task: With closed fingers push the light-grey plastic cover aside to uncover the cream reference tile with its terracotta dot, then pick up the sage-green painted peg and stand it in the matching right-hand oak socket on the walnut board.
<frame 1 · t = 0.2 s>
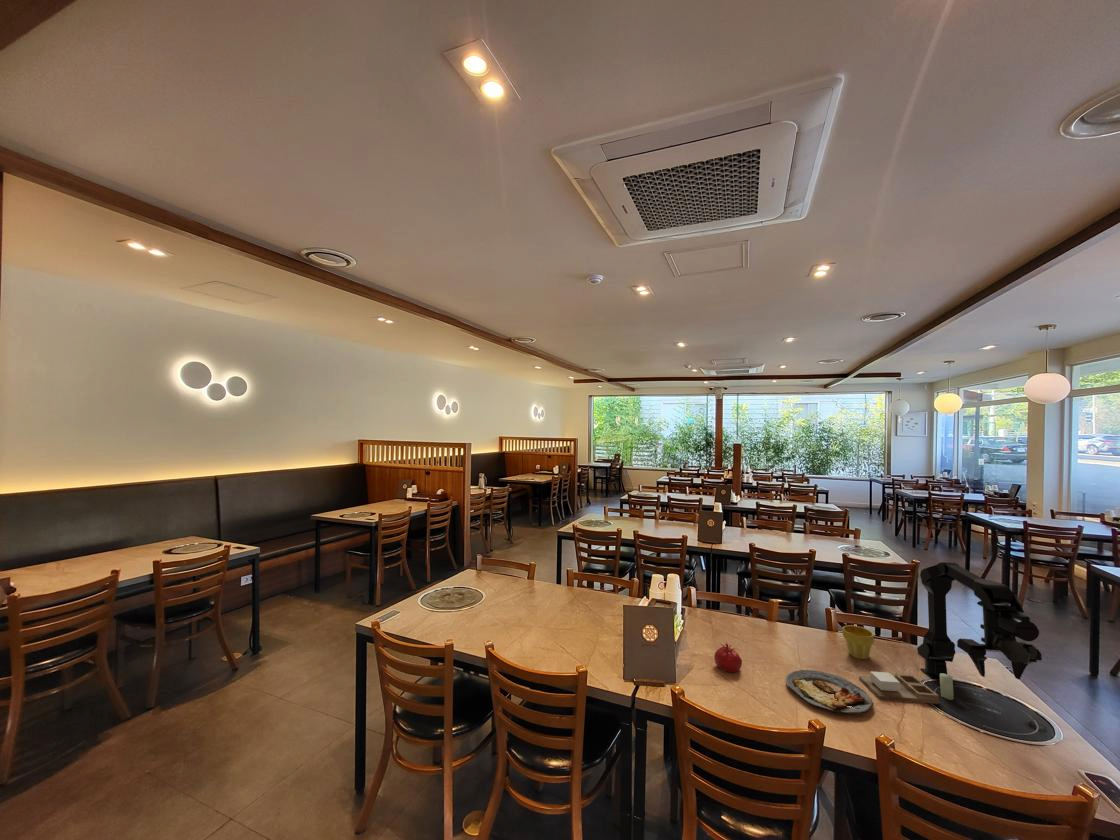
hand: (999, 677, 127), 14 cm above the table, fingers open, 9 cm apart
food plate: (827, 696, 143), on the table
plant pot: (859, 655, 168), on the table
board: (897, 690, 144), on the table
pomegranate: (728, 668, 160), on the table
cover: (885, 681, 145), point 3 cm above the table, slide at 0.0 cm
peg: (947, 697, 141), on the table
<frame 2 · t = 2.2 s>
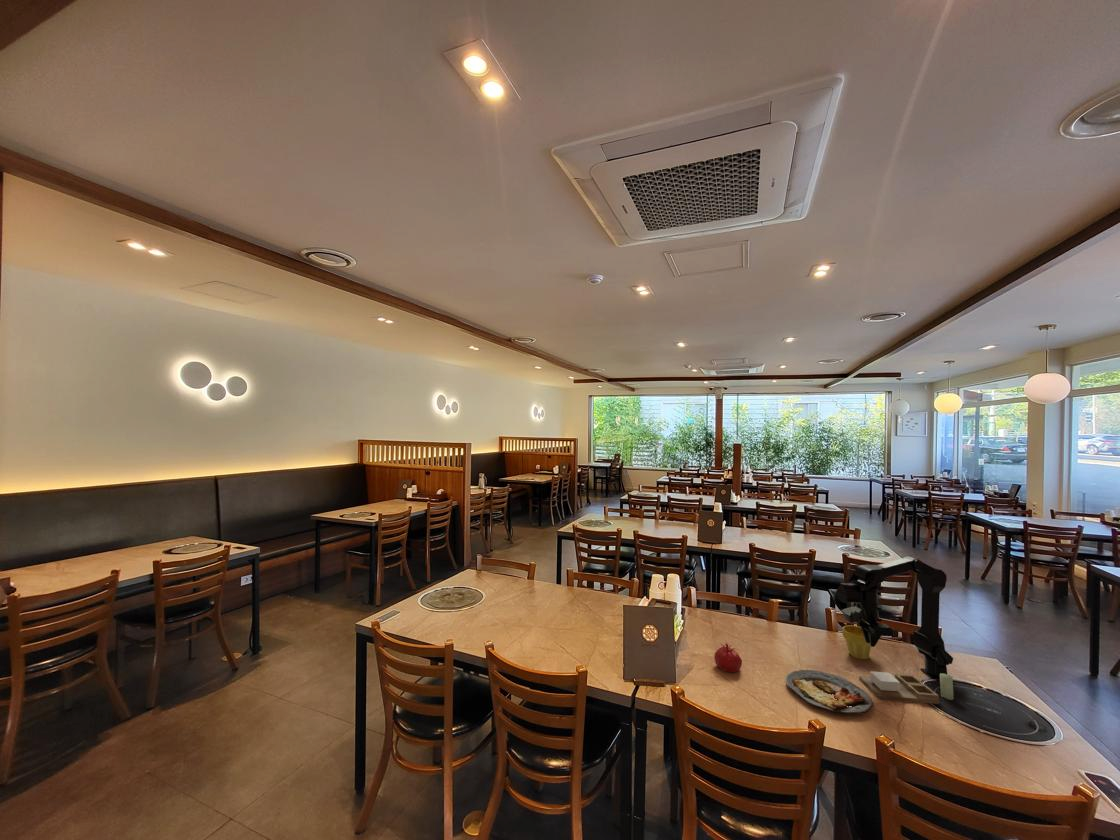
hand: (870, 644, 153), 12 cm above the table, fingers open, 3 cm apart
nothing on the table moved.
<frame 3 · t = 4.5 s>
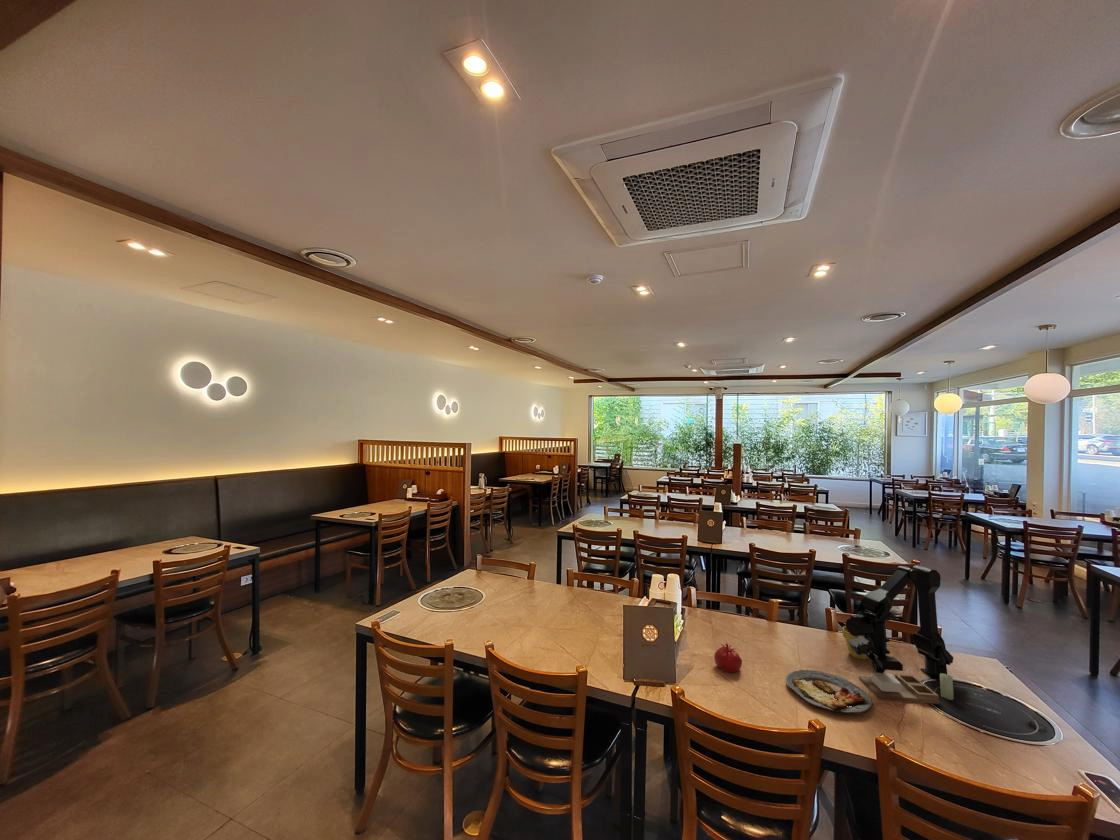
hand: (878, 677, 148), 3 cm above the table, fingers closed
cover: (886, 682, 144), point 3 cm above the table, slide at 0.6 cm, touching gripper
everything else where it was.
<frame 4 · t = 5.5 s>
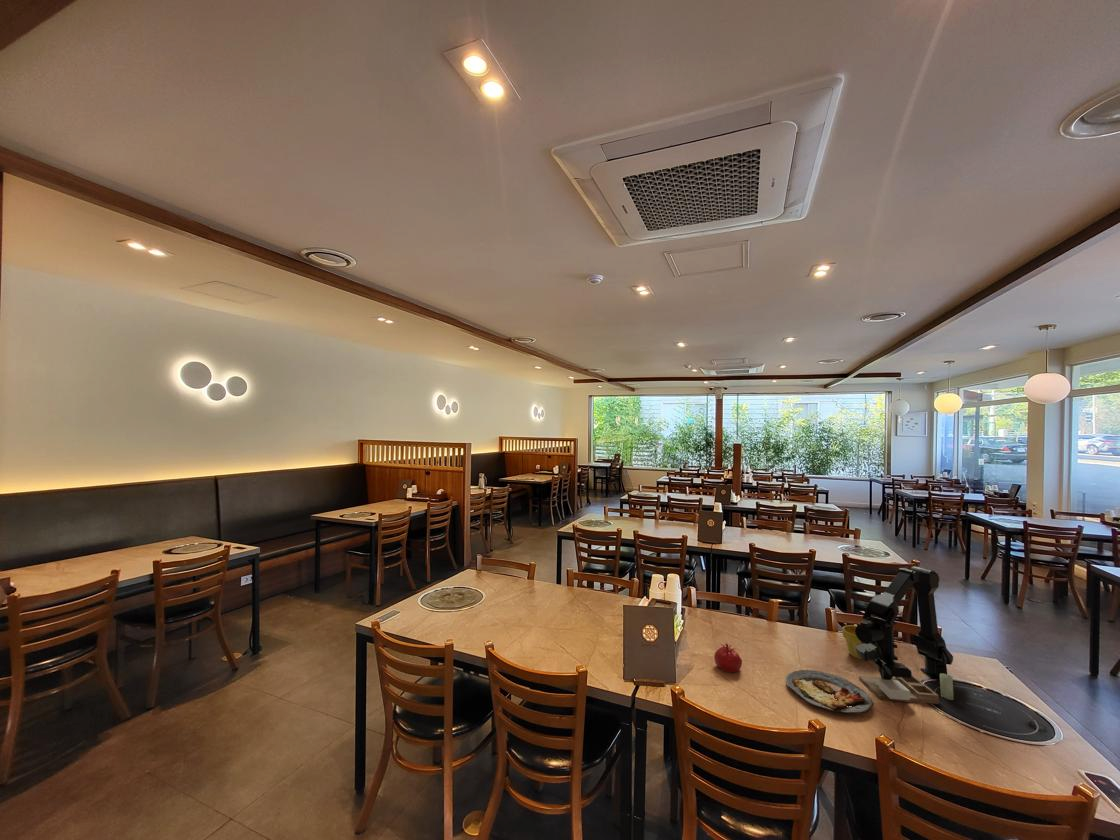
hand: (885, 684, 144), 3 cm above the table, fingers closed
cover: (894, 689, 140), point 3 cm above the table, slide at 4.9 cm, touching gripper
everything else where it was.
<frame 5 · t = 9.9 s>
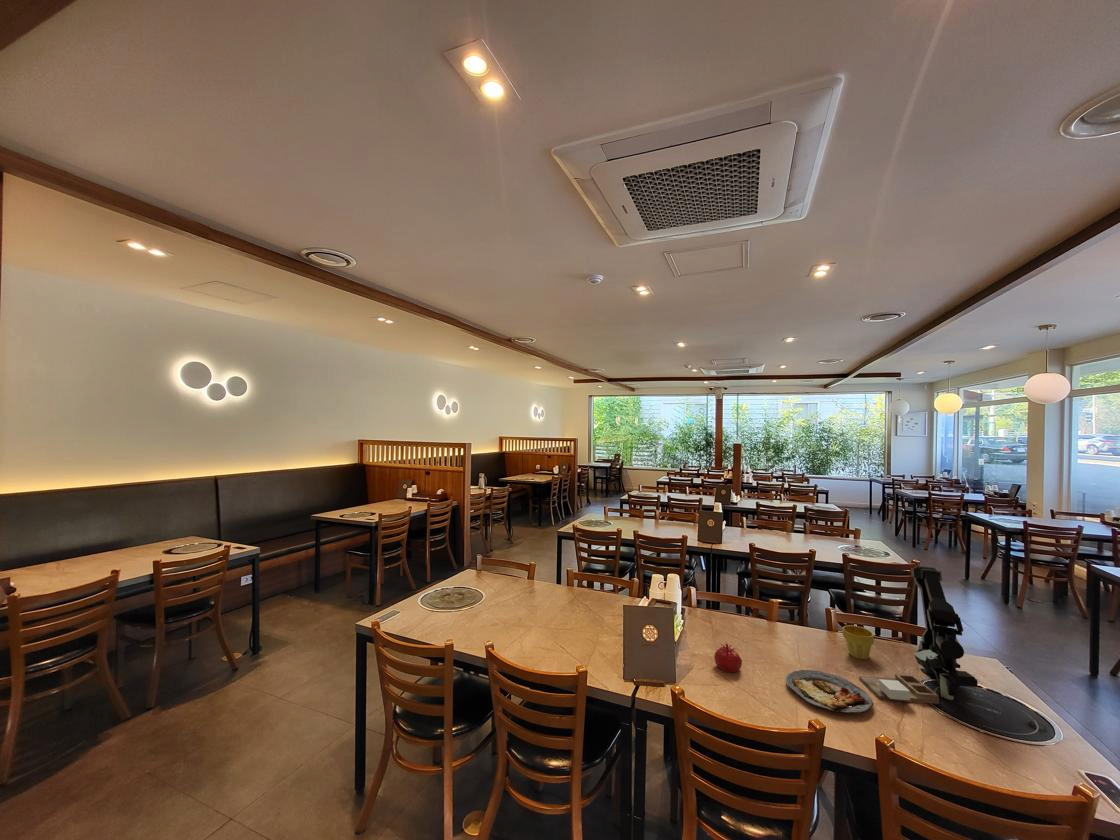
hand: (946, 692, 141), 2 cm above the table, fingers closed on peg, 3 cm apart
cover: (894, 689, 140), point 3 cm above the table, slide at 4.9 cm
peg: (947, 697, 141), on the table, touching gripper
everything else where it was.
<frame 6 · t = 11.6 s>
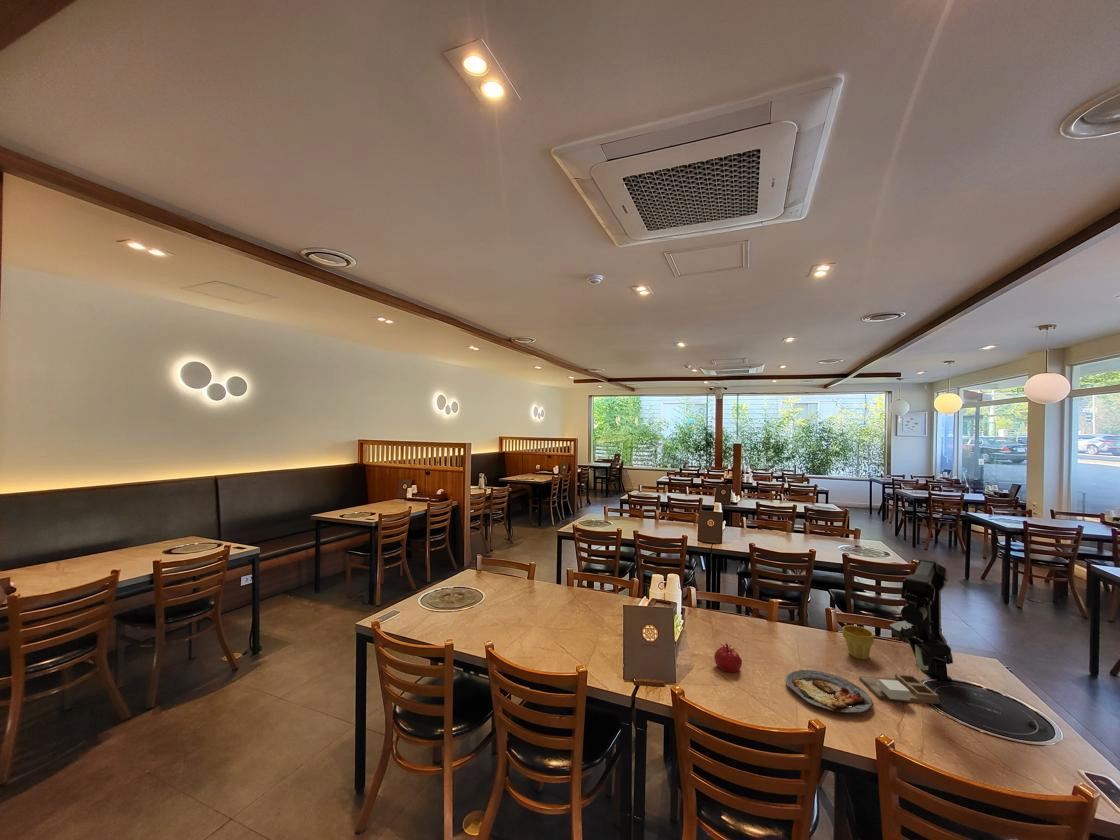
hand: (921, 662, 141), 12 cm above the table, fingers closed on peg, 3 cm apart
peg: (922, 667, 141), point 10 cm above the table, touching gripper
everything else where it was.
when the fingers open (4 cm above the table, at t = 13.3 s): peg stays where it is, resting on board.
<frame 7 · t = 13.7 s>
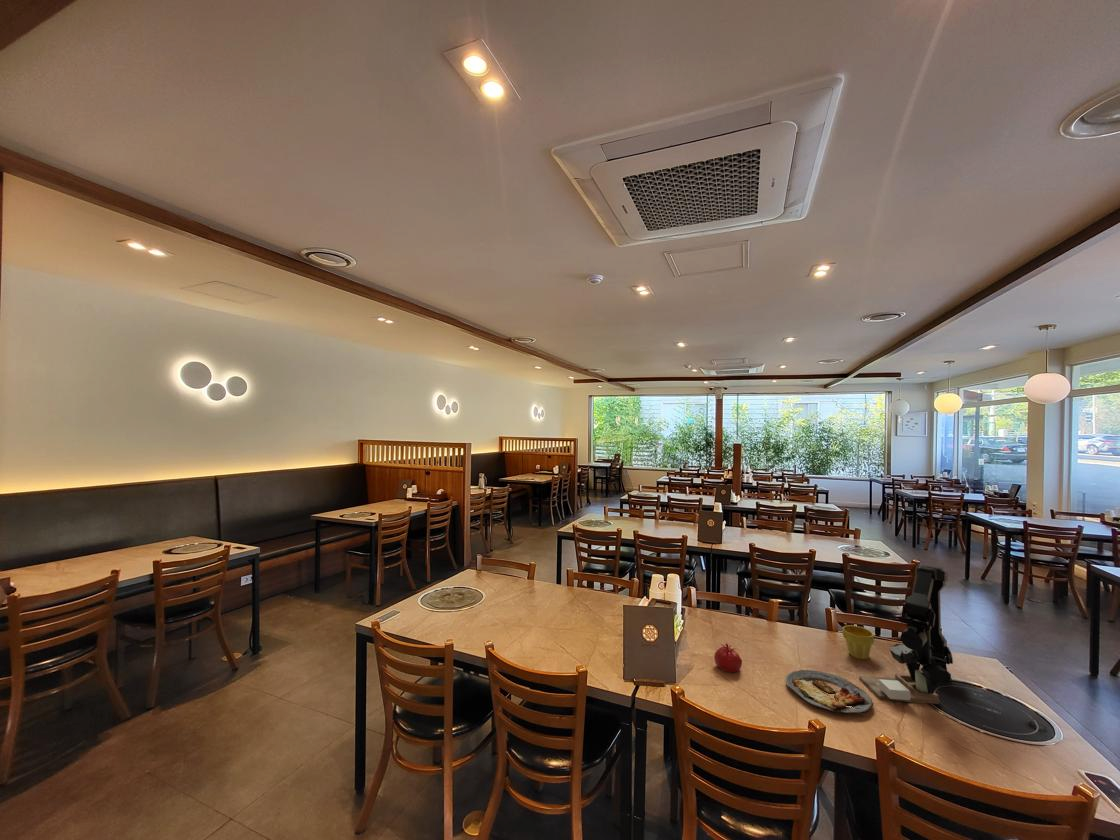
hand: (922, 687, 141), 3 cm above the table, fingers open, 7 cm apart
peg: (922, 693, 141), point 1 cm above the table, touching board
everything else where it was.
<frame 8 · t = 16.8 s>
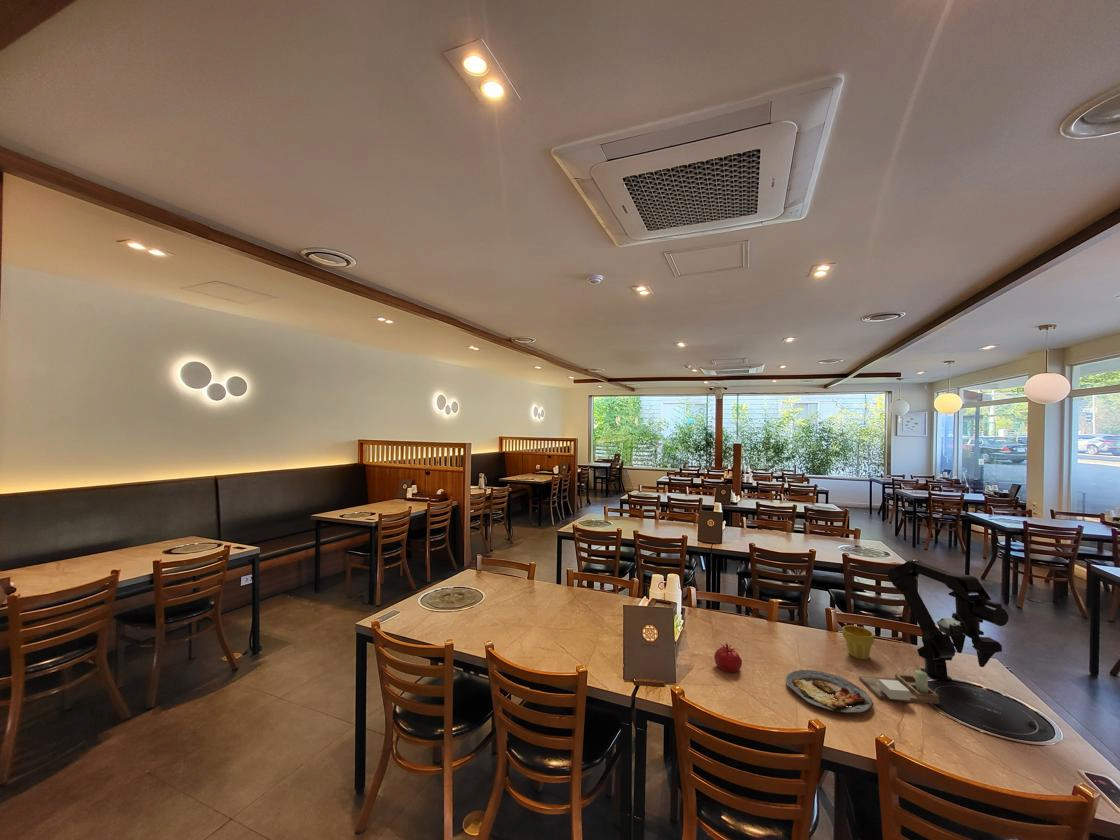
hand: (970, 659, 142), 12 cm above the table, fingers open, 9 cm apart
nothing on the table moved.
at the end: cover slide at 4.9 cm; peg 0.0 cm from the target spot, point 1.2 cm above the table; peg tilted 1° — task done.
